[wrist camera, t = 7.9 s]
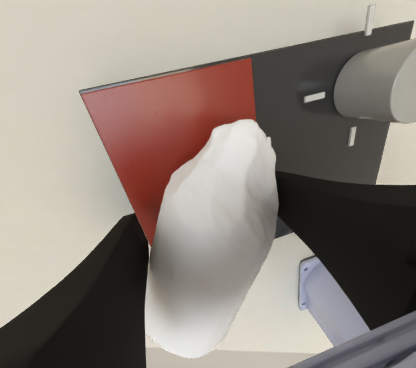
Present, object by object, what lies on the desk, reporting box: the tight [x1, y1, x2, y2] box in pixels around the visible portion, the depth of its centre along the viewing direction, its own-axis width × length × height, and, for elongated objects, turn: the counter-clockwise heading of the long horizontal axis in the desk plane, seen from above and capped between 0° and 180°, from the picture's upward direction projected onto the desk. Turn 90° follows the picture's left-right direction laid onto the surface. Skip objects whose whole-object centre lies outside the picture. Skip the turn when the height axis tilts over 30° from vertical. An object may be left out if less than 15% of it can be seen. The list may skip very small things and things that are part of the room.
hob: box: [79, 4, 414, 242], centre depth 14 cm, size 15×21×2 cm
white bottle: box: [145, 119, 279, 358], centre depth 10 cm, size 6×12×6 cm, turn 164°
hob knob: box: [333, 38, 416, 124], centre depth 11 cm, size 4×4×4 cm
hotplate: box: [81, 58, 256, 246], centre depth 13 cm, size 14×9×1 cm, turn 12°
